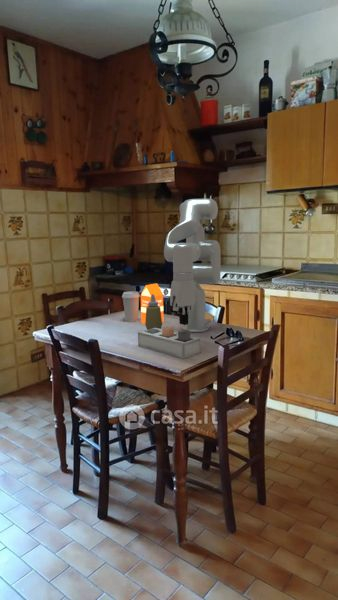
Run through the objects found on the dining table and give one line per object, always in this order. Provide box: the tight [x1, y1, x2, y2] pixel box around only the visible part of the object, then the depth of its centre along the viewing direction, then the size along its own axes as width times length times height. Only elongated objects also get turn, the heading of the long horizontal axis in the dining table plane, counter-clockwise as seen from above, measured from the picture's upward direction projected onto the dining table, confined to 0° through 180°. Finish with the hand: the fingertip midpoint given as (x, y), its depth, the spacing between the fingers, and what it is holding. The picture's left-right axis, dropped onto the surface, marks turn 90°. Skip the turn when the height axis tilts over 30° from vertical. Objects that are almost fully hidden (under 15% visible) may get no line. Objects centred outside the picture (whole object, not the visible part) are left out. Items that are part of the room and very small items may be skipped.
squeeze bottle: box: [144, 294, 163, 330], centre depth 200 cm, size 8×8×18 cm
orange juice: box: [140, 283, 165, 325], centre depth 218 cm, size 8×9×20 cm
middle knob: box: [161, 326, 175, 338], centre depth 172 cm, size 5×5×5 cm
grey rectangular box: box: [137, 328, 202, 360], centre depth 173 cm, size 10×26×6 cm, turn 45°
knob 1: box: [146, 329, 159, 334], centre depth 179 cm, size 5×5×5 cm
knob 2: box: [177, 329, 191, 342], centre depth 166 cm, size 5×5×5 cm
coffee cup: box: [121, 290, 141, 323], centre depth 224 cm, size 10×10×15 cm
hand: (183, 324), depth 165 cm, fingers closed
